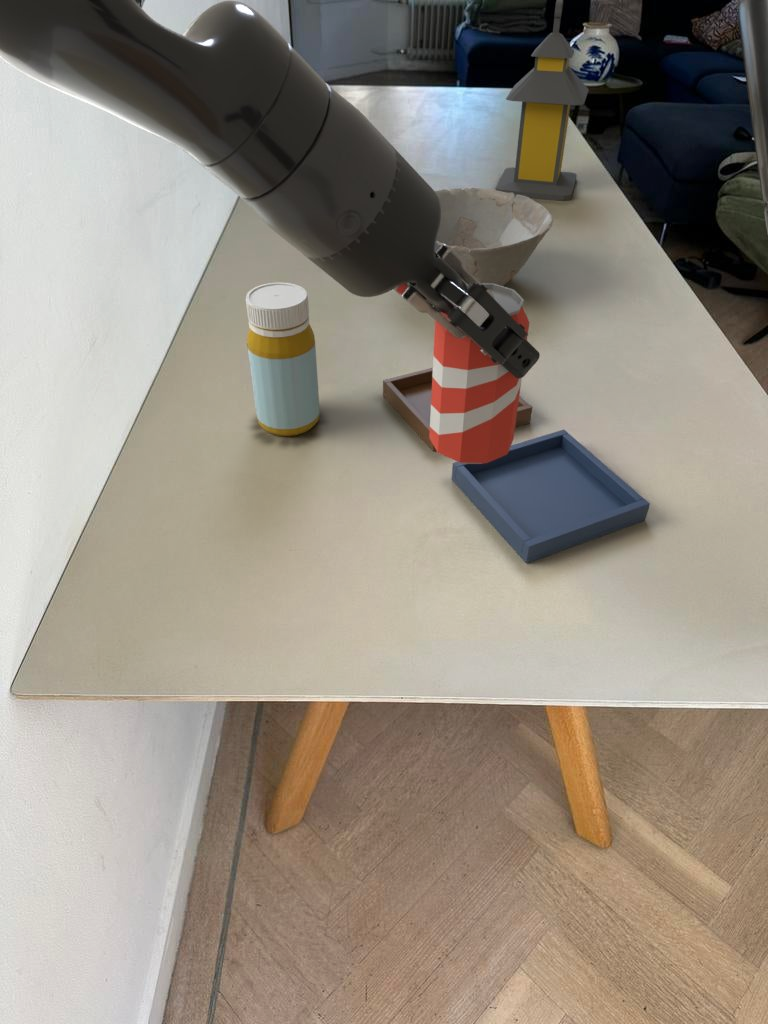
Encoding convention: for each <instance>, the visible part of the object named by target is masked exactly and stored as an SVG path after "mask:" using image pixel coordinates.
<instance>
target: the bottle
mask: <svg viewBox="0 0 768 1024" xmlns="http://www.w3.org/2000/svg"><path fill="white" fill-rule="evenodd" d="M245 304H246V305H245V306H246V314H247V318H248V326H249V328H248V333H247V336H246V342H247V345H246V346H247V352H248V362H249V367H250V375H251V383H252V384H251V385H252V390H253V398H254V407H255V414H256V418H257V423H258V424H259V426H260V427H261V428H262V429H263V430H264V431H266V432H268V433H270V434H271V435H275V436H279V437H293V436H299V435H301V434H305V433H306V432H308V431H310V430H311V429H312V428H313V427H314V426H316V424H317V423H318V421H319V419H320V416H321V415H320V414H321V413H320V412H321V409H320V407H321V406H320V395H319V393H320V392H319V380H318V379H319V378H318V377H319V376H318V365H317V364H318V363H317V348H316V339H315V338H316V337H315V333H314V330H313V328H312V326H311V324H310V309H309V295H308V293H307V290H306V288H304V287H302V286H300V285H298V284H295V283H292V282H283V281H282V282H281V281H280V282H278V281H277V282H268V283H264V284H260V285H256V286H254V287H253V288H251V289H250V290H248V292H247V293H246V295H245Z"/></svg>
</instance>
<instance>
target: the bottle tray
mask: <svg viewBox="0 0 768 1024" xmlns="http://www.w3.org/2000/svg"><path fill="white" fill-rule="evenodd" d="M432 374H433V367H430V368H426V369H421V370H418V371H413V372H410V373H407V374H403V375H398V376H394V377H390V378H387V379H383V380H382V396H383V397H384V398H385V400H386V401H387V402H388V403H389V404H390V405H391V406H392V407H393V408H394V410H395V411H396V412H397V413H398V414H399V415H400V416H401V417H402V418H403V420H404V421H405V423H407V424H408V425H409V426H410V427H411V429H412V430H413V431H415V433H416V434H417V435H418V436H419V437H420V438H421V440H422V441H423V442H424V443H425V444H426V445H427V446H428V448H429V449H430V450H431V451H432V452H435V451H436V452H437V450H436V449H435V447H434V445H433V444H432V442H431V440H430V438H429V434H430V414H431V394H432ZM532 412H533V406H532V405H530V404H529V403H528V401H526V400H524V398H522V396H520V395H519V402H518V409H517V416H516V424H515V428H518V427H521V426H524V425H528V424H530V423H531V418H532Z"/></svg>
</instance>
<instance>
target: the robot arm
mask: <svg viewBox="0 0 768 1024" xmlns="http://www.w3.org/2000/svg"><path fill="white" fill-rule="evenodd" d="M737 1H738V2H740V5H739V6H738V7H737V8H738V9H737V14H736V16H737V21H738V29H739V30H738V31H739V37H740V38H739V39H740V45H741V52H742V59H743V67H744V68H743V69H744V75H745V83H746V89H747V99H748V104H749V112H750V121H751V127H752V134H753V141H754V150H755V156H756V164H757V172H758V179H759V186H760V195H761V200H762V201H763V202H765V204H764V205H763V210H762V211H763V215H764V221H765V222H764V223H765V229H766V232H767V233H766V234H768V0H737ZM145 2H146V0H0V59H2V61H4V62H6V63H7V64H9V65H10V66H11V67H13V68H15V69H16V70H17V71H19V72H21V73H22V74H24V75H26V76H28V77H29V78H32V79H34V80H35V81H37V82H39V83H42V84H43V85H45V86H47V87H49V88H52V89H54V90H56V91H59V92H61V93H63V94H65V95H68V96H70V97H73V98H75V99H77V100H79V101H81V102H84V103H87V104H89V105H91V106H94V107H96V108H98V109H100V110H103V111H105V112H107V113H109V114H111V115H113V116H115V117H117V118H118V119H121V120H123V121H125V122H127V123H129V124H131V125H133V126H135V127H136V128H139V129H141V130H143V131H146V132H148V133H150V134H152V135H154V136H156V137H158V138H160V139H162V140H165V141H166V142H168V143H170V144H172V145H173V146H176V147H177V148H179V149H180V150H182V151H183V152H185V153H186V154H187V155H188V156H189V157H191V158H192V159H193V161H195V162H196V163H198V164H199V165H200V166H201V167H203V169H204V170H206V171H208V173H210V174H211V175H212V176H213V177H215V178H216V179H217V180H219V182H221V183H222V184H223V185H224V186H226V187H227V188H228V189H230V190H231V191H232V192H233V193H234V194H236V195H237V196H238V197H239V198H240V199H242V200H243V201H244V202H245V203H246V204H247V205H248V207H250V208H251V209H252V210H253V211H254V212H255V213H256V215H257V216H258V217H259V218H260V219H261V220H262V221H263V222H264V223H265V224H266V225H267V226H268V227H269V229H271V230H272V231H274V232H275V234H277V235H278V236H280V237H281V239H283V240H284V241H285V242H287V243H288V244H290V245H291V246H292V247H293V248H294V249H296V250H297V251H298V252H300V254H302V255H303V256H304V257H306V259H308V260H309V261H311V262H312V263H314V265H316V266H317V268H318V269H319V268H320V269H321V270H322V271H323V272H324V273H326V274H327V276H329V277H330V278H332V279H333V280H334V281H336V283H338V284H339V285H340V286H341V287H343V288H344V289H345V290H346V291H347V292H349V293H350V294H352V295H353V296H354V295H355V296H357V297H360V298H372V297H378V296H382V295H384V294H386V293H388V292H390V291H392V290H394V291H395V292H396V293H398V295H399V296H401V297H402V298H403V299H404V300H405V301H406V302H407V303H409V304H410V305H411V306H412V307H413V308H414V309H416V310H417V311H418V312H419V313H423V314H424V313H426V314H428V315H429V316H430V317H431V318H432V319H434V321H435V320H436V321H437V322H438V323H440V324H441V325H442V326H443V327H444V328H445V329H446V330H448V331H449V332H450V333H451V334H452V335H454V336H455V337H456V338H463V337H468V338H469V339H470V340H472V341H473V342H474V343H475V344H476V345H477V346H478V347H480V348H481V350H480V351H481V352H482V353H483V354H484V355H485V356H486V355H487V354H488V355H489V356H490V358H489V359H491V360H492V361H493V362H494V363H495V364H496V362H498V363H499V364H500V365H501V366H503V367H504V368H505V369H507V370H508V371H509V372H510V373H511V374H512V375H513V376H515V377H516V378H518V379H520V378H522V379H523V378H524V377H525V376H526V375H527V374H528V372H529V371H530V370H531V369H532V368H533V367H534V366H535V365H536V363H537V362H538V361H539V360H540V355H541V354H540V351H538V350H537V349H536V348H535V347H534V346H533V345H532V344H531V343H530V342H529V340H528V339H527V340H526V339H525V338H526V336H527V335H529V332H528V333H527V332H526V331H525V327H523V326H522V325H521V324H520V323H519V324H518V323H517V322H516V321H515V320H514V319H513V318H512V317H511V316H510V315H509V314H508V313H507V312H506V311H505V310H504V309H503V308H502V307H501V306H500V304H499V303H498V302H497V301H496V300H495V299H494V295H493V293H492V292H491V291H490V290H488V289H487V288H486V287H485V286H484V285H483V284H482V283H481V282H480V281H479V280H477V279H476V278H475V277H474V276H473V275H472V274H471V273H470V272H469V271H468V270H466V269H465V267H464V264H463V261H462V259H461V258H460V257H459V256H458V255H456V254H455V253H454V252H453V251H452V250H451V249H450V248H449V247H447V246H446V245H445V244H443V243H442V245H441V246H440V245H439V244H438V243H437V241H436V237H437V233H438V231H439V227H440V221H441V207H440V202H439V199H438V196H437V195H436V193H435V191H436V190H434V189H433V187H432V186H431V185H430V184H429V183H428V182H427V181H426V180H425V179H424V178H423V177H422V176H421V175H420V174H419V172H417V170H416V169H415V168H414V167H413V166H412V165H411V164H410V163H409V162H408V161H407V160H406V159H405V157H403V155H401V153H400V152H399V151H398V150H397V149H396V148H395V147H394V146H393V145H392V144H391V143H390V141H389V140H388V139H386V137H385V136H384V135H383V134H382V133H381V132H380V131H379V130H378V128H376V127H375V125H374V124H373V123H372V122H371V121H370V120H369V119H368V118H367V117H366V116H365V115H364V114H363V113H362V112H361V111H360V110H359V109H358V108H357V107H356V106H354V105H353V104H352V103H351V102H350V101H348V100H347V99H346V98H344V97H343V96H342V95H341V94H339V93H338V92H337V91H336V90H335V89H334V88H332V87H331V85H329V84H328V83H327V82H326V81H325V80H324V79H323V78H322V77H321V76H320V75H319V74H318V73H317V72H316V71H315V69H314V68H312V66H311V65H310V64H309V63H308V62H307V61H306V60H305V58H303V57H302V55H300V53H298V52H297V50H296V49H295V48H293V46H292V45H291V44H290V43H289V42H288V41H287V40H286V38H285V37H284V36H283V35H282V34H281V33H280V32H279V31H278V30H277V29H276V28H275V26H274V25H272V24H271V23H270V22H269V20H267V19H266V18H265V17H264V16H263V15H261V14H260V13H259V12H258V11H256V10H255V9H254V8H252V7H251V6H249V5H248V4H246V3H244V2H241V1H238V0H237V1H236V0H223V1H220V2H217V3H215V4H213V5H211V6H210V7H208V8H207V9H206V10H204V11H203V12H202V13H200V14H199V15H198V16H197V17H196V18H195V19H194V20H193V21H192V22H191V23H190V24H189V26H188V27H187V28H186V29H185V30H184V31H183V33H182V34H181V33H178V32H176V31H175V30H172V29H170V28H168V27H166V26H164V25H163V24H161V23H159V22H157V21H156V20H155V19H153V18H152V17H151V16H150V15H149V14H148V13H147V12H146V11H145V10H144V9H143V7H144V4H145ZM463 280H464V281H465V282H466V283H467V284H468V285H469V286H470V288H469V289H467V286H466V284H465V283H464V281H463ZM441 312H442V313H445V314H446V315H447V316H446V317H447V318H449V319H450V320H451V321H449V320H448V319H447V318H446V317H445V316H443V315H442V314H441Z"/></svg>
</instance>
